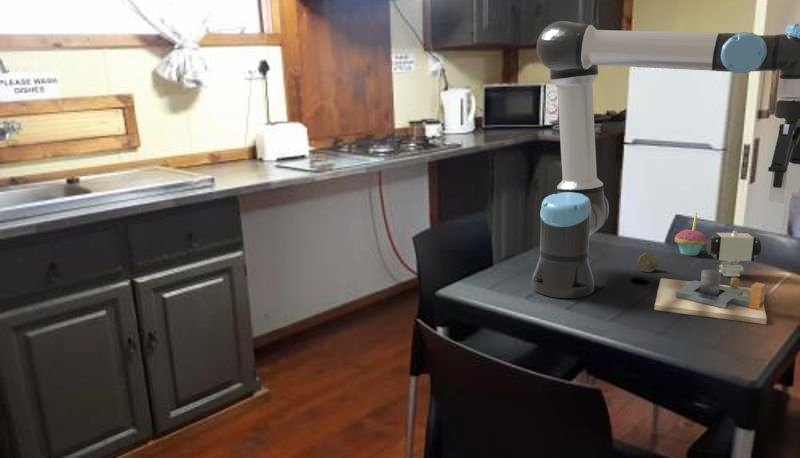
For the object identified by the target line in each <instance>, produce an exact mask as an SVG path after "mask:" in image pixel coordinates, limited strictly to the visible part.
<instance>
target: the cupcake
mask: <svg viewBox="0 0 800 458" xmlns="http://www.w3.org/2000/svg"><path fill="white" fill-rule="evenodd" d="M697 214H698V213H697V212H696V213H695V215H694V216H693V217H694V219H693V224H692V229H683V230H681V231H679V232H678V233H675V236H674V243H677V245H678V249H679V253H680V254H681V255H683V254H684V256H689V257H691V256H694V257H695V256H697V255H698V256H699V253H700V251H701V248H702V247H703V246H704V245H707V239H708V237H707V236H706V235H705V233H703V232H702V231H700V230H697V229H696V227H697V226H696V225H697V218H698V215H697Z"/></svg>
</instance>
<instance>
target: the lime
mask: <svg viewBox="0 0 800 458" xmlns="http://www.w3.org/2000/svg"><path fill="white" fill-rule="evenodd" d="M658 261H659V260H658V258H657V256H656V255H655V254H653V253H650V252H644V253H642V254H641V255H640V256H639V257H638V260H637V265H638V268H640V269H641V271H642V272H644V273H652V272H653V271H655V270H657V268H658V265H659V262H658Z"/></svg>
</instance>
